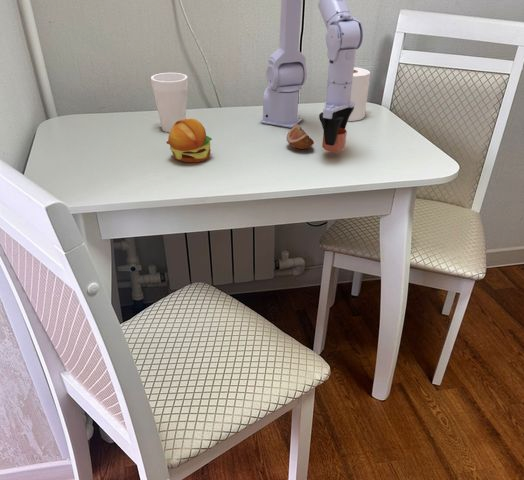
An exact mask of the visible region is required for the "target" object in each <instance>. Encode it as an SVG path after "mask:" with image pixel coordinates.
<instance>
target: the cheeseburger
mask: <svg viewBox="0 0 524 480" xmlns="http://www.w3.org/2000/svg"><path fill="white" fill-rule="evenodd" d="M206 131H207V130H206V127H204V125H203V124H202V123H201V121H199V120H197V119H196V118H186V119H184V120H180V121H177V122H176V123H175V124H174V126H173V128H172V130H171V132H169V134H168V138H167V139H168V140H167V141H165V142H166V144H167V145H169V150H170V152H171V153H172V155H173V158H174V159H176V160H177V161H180V162H184V163H200V162H203V161H206V160H207V159H209V158H210V155H211V141H212V140H213V138H211V137H210V136H208V135H207V132H206Z"/></svg>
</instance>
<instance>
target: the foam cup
mask: <svg viewBox="0 0 524 480" xmlns="http://www.w3.org/2000/svg"><path fill="white" fill-rule="evenodd" d="M150 83H151V89H152V91H153V95H154V99H155V104H156V108H157V113H158V117H159V121H160V126H161V130H162V131H163V132H166V133H170V132H171V130H172V128H173V126H174V124H175V123H176V122H177V121H180V120H184V119H187V102H188V99H187V97H188V88H189V80H188V75H186V74H184V73H179V72H161V73H156V74H153V75H151V77H150Z"/></svg>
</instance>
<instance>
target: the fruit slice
mask: <svg viewBox="0 0 524 480" xmlns="http://www.w3.org/2000/svg"><path fill="white" fill-rule="evenodd" d="M286 142H287V143H288V144H289V145H290V146H291V147H293V148H295V149H299V150H304V149H307V148H310V147H312V146H313V145H314V144H315V142H314V140H313V139H312V138H311V137H310V136H309V134H307V132H305V130H304V129H303V128H302V127H301V126H300V125H299V123H298V124H296V125H295V126H294V127H293V128H290V129H289V131H288V133H287V134H286Z"/></svg>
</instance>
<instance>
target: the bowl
mask: <svg viewBox="0 0 524 480" xmlns="http://www.w3.org/2000/svg"><path fill="white" fill-rule="evenodd" d="M322 132H323V133H322V143H321V146H322V148H323V149H324V151H326V152H329V153H340V152H342V151H343V150H345V148H346V145H347V144H346V142H347V133H348V131H347V129H346V128H345V129H343V128H339V129H338V133H337V137H336V141H335V144H334V146H331V145H326V144H325V138H324V131H322Z"/></svg>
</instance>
